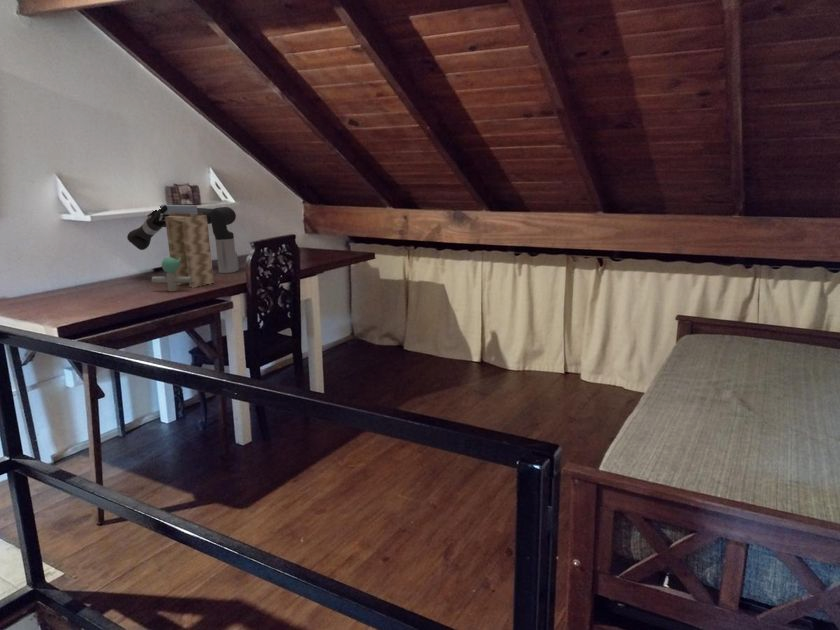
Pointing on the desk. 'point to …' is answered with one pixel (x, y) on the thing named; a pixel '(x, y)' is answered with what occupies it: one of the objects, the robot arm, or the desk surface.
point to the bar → (181, 209)
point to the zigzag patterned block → (190, 247)
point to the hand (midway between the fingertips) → (170, 206)
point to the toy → (171, 274)
